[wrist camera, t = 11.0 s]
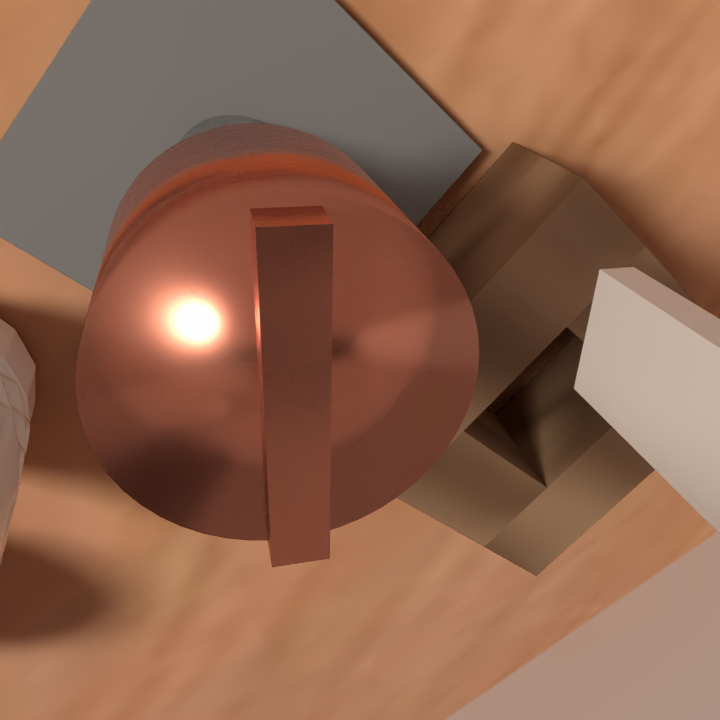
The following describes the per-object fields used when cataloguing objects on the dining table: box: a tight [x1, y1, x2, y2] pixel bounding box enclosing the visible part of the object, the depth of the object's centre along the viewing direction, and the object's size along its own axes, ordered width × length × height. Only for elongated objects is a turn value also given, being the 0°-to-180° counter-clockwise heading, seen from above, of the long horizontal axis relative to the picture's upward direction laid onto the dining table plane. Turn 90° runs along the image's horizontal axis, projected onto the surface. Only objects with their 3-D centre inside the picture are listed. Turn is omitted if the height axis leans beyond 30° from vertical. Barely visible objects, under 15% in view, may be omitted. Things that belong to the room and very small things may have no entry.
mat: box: [0, 0, 482, 291], centre depth 22 cm, size 12×12×1 cm
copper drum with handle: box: [75, 115, 479, 567], centre depth 16 cm, size 6×6×14 cm
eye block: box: [397, 143, 700, 576], centre depth 26 cm, size 12×12×5 cm
